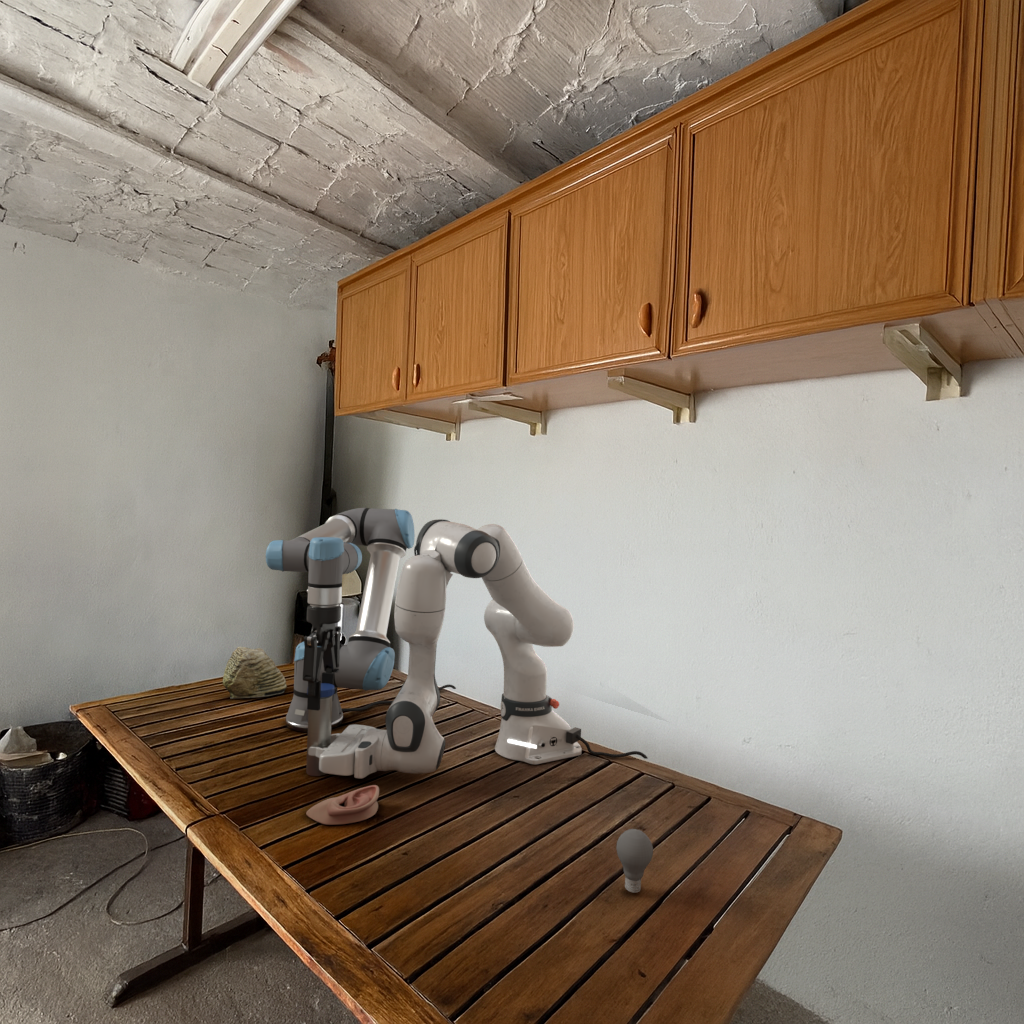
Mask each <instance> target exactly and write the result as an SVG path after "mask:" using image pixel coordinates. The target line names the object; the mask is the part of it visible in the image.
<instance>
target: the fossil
mask: <svg viewBox="0 0 1024 1024" xmlns="http://www.w3.org/2000/svg"><path fill="white" fill-rule="evenodd" d="M222 676H223V677H222V685H223V687H224V688H225V690H226V691H228V693H229V698H230V699H250V698H264V697H271V696H275V695H281V694H284V693H285V691H286V689H287V687H288V686H287V680H286V678H285V676H284V674H283V673H282V672H281V669H279V668H278V667H277V665H276V663H275V662H274V660H273V659H272V658H271V657H270V656H269V655H268V654H267V653H266V652H265V650H264V649H263V648H260V647H258V648H251V647H247V646H246V647H245V646H238V647H237V648H236V649H235V650H233V651H232V653H231V656H230V657H229V659H228V660H227V663H226V666H225V668H224V671H223V675H222Z"/></svg>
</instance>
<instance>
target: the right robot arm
mask: <svg viewBox="0 0 1024 1024" xmlns="http://www.w3.org/2000/svg"><path fill="white" fill-rule="evenodd" d="M413 554H414V555H413V556H410V557H409V558H408V559H406V560H405V562H404V563H403V566H402V569H401V572H400V574H399V579H398V583H397V586H396V587H397V589H396V593H395V601H394V613H393V614H394V615H393V616H394V629H395V633H396V634H397V636H398V637H399V638H401V640H402V641H404V642H406V643H408V646H409V649H408V650H409V651H408V666H407V667H408V668H407V669H408V670H407V676H406V679H405V681H404V682H403V684H402V686H401V687H400V689H399V691H398V693H397V695H396V696H395V698H394V700H392V701H393V702H392V704H389V707H388V709H387V711H386V714H385V719H384V721H385V727H386V729H383V728H381V729H380V728H377V727H374V726H372V725H364V724H358V723H357V724H356V723H355V724H354V723H353V724H349V725H348V726H347V727H346V728H345V729H344V730H343V731H342V732H338V733H331V745H330V746H329V747H328V748H319V746H316V745H315V746H314V745H312V746H311V747H310V748H309V749H308V754H309V755H310V756H316V757H318V758H319V770H320V771H322V772H323V773H327V774H329V775H333V776H334V775H335V776H345V777H346V776H353V777H354V778H355V779H364V778H366V777H368V776H369V775H372V774H374V773H377V772H388V771H389V772H390V771H397V772H398V773H399V772H400V773H402V774H418V775H419V774H430V773H434V772H436V771H437V770H438V769H439V768H440V765H441V763H442V761H443V757H444V753H445V750H446V749H445V748H446V739H445V738H444V737H443V735H442V734H441V733H440V732H439V730H438V729H437V726H436V724H435V722H434V718H433V716H434V714H435V713H436V711H437V710H438V709H439V706H440V703H441V692H440V691H439V689H438V688H439V686H438V682H437V680H436V661H437V660H436V659H437V646H438V641H439V638H440V635H441V632H442V628H443V624H444V620H445V619H444V618H445V614H446V606H447V588H448V584H449V582H450V580H451V578H452V577H453V575H454V574H457V575H461V576H462V577H464V578H467V579H482V582H483V583H484V585H485V587H486V589H487V591H488V593H489V595H490V598H491V600H490V601H489V602H488V604H487V605H486V607H485V609H484V614H483V621H484V625H485V627H486V629H487V630H488V632H489V633H490V634H491V635H492V636H493V638H494V640H495V642H496V644H497V646H498V650H499V652H500V655H501V658H502V663H503V693H502V694H501V701H500V717H501V719H500V725H499V731H498V735H497V739H496V742H495V745H494V751H495V752H496V754H497V755H500V756H501V757H503V758H506V759H509V760H513V761H519V762H524V763H527V764H530V765H540V764H545V763H550V762H554V761H559V760H564V759H569V758H573V757H577V756H581V755H582V754H583V753H582V751H583V749H582V747H581V745H580V743H579V741H580V742H581V743H582V744H583V745H585V747H586V750H587V752H588V753H589V754H590V755H593V756H601V757H602V756H604V757H608V758H613V759H614V758H616V759H617V758H625V757H629V756H633V755H634V756H635V755H638V756H640V757H642V758H643V759H644V760H645V759H646V760H647V759H648V756H647V755H646V754H645V753H643V752H641V751H638V750H633V751H632V750H631V751H627V752H622V753H616V754H615V753H610V752H609V753H608V752H604V751H594V750H592V749H591V746H590V744H589V742H588V741H587V740H586V739H584V738H583V737H582V728H579V727H573V728H572V727H571V726H570V724H569V723H568V722H567V721H566V720H565V719H564V718H563V717H562V716H561V715H559V714H558V713H557V712H555V710H556V709H557V710H558V708H559V707H560V702H559V701H558V700H557V699H556V698H552V697H551V696H549V695H548V694H547V686H548V685H547V683H548V668H547V666H546V665H547V664H546V663H545V661H544V660H543V659H542V658H541V657H540V656H539V655H538V654H537V652H536V650H535V648H534V646H539V647H542V648H544V647H545V648H553V647H554V648H557V647H563V646H565V645H566V644H568V643H569V641H570V640H571V639H572V637H573V635H574V631H575V620H574V617H573V614H572V613H571V611H570V610H569V609H568V608H566V607H565V606H563V605H561V604H559V603H558V602H556V600H554V599H552V598H551V596H549V594H548V593H547V592H545V590H544V589H543V588H542V587H541V586H540V585H539V584H538V583H537V582H536V581H535V579H534V578H533V576H532V574H531V572H530V570H529V569H528V568H529V567H528V566H527V564H526V561H525V560H524V558H523V555H522V553H521V551H520V549H519V548H518V546H517V544H516V543H515V541H514V539H513V538H512V536H511V535H510V534H509V532H508V530H506V529H505V528H504V527H503V526H501V525H499V524H497V523H489V524H484V525H482V526H480V527H478V528H477V529H476V528H474V527H473V526H470V525H467V524H465V523H459V522H455V521H450V520H448V519H443V518H439V519H438V518H437V519H432V520H429V521H427V522H426V523H425V524H424V525H423V526H422V528H421V529H420V530H419V532H418V534H417V537H416V541H415V545H414V549H413ZM453 573H454V574H453ZM533 645H534V646H533ZM553 709H555V710H553ZM327 774H326V775H327Z"/></svg>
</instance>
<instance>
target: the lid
mask: <svg viewBox="0 0 1024 1024" xmlns="http://www.w3.org/2000/svg"><path fill="white" fill-rule="evenodd" d="M334 693H335V688H334V685H332V684H328V683H321V694H320V698H323V697H329V696H332V695H333V694H334ZM307 695H308V689H307Z"/></svg>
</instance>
